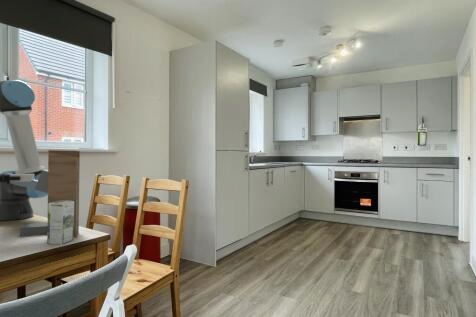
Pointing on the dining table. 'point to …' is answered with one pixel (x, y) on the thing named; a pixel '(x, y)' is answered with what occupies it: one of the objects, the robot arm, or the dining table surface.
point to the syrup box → (60, 222)
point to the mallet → (35, 182)
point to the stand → (64, 180)
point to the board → (33, 229)
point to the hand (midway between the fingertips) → (32, 177)
